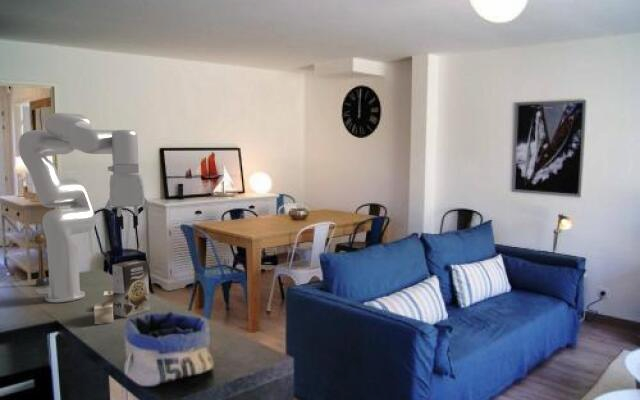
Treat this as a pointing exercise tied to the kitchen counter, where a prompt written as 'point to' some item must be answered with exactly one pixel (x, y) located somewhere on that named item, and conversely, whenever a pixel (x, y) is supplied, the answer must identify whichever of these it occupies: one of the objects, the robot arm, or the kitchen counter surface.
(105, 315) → the marked block front
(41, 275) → the wooden tabletop sculpture
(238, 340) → the kitchen counter surface
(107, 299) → the marked block back
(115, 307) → the coffee box
